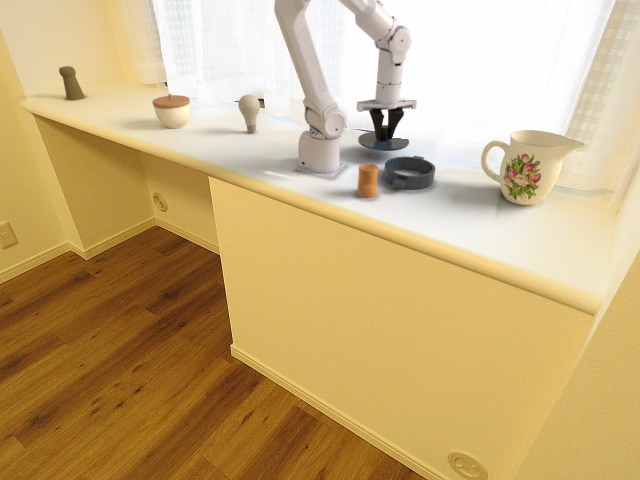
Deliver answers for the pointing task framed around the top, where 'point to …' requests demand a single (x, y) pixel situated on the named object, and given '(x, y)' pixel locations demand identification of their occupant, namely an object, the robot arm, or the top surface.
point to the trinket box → (172, 110)
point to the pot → (406, 180)
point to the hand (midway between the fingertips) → (383, 138)
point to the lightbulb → (249, 111)
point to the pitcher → (529, 164)
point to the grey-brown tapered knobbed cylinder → (71, 83)
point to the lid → (382, 141)
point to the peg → (367, 180)
